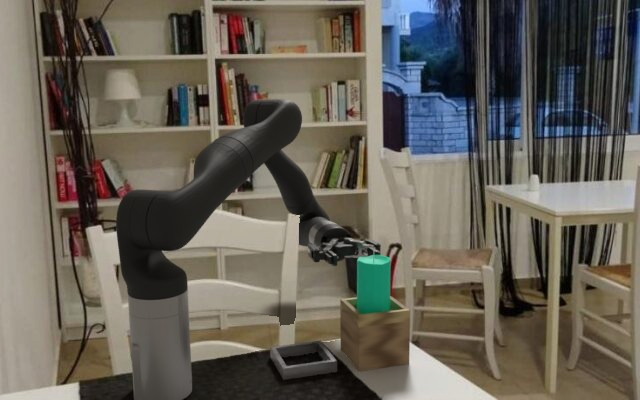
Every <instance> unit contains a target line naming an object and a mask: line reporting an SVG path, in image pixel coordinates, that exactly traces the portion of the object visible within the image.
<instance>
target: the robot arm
mask: <svg viewBox="0 0 640 400" xmlns="http://www.w3.org/2000/svg"><path fill="white" fill-rule="evenodd" d="M242 118H243V119H242V120H243V127H242V128H239V129H235V130H231V131H229V132H227V133H225V134H222V135H220V136H219V137H217V138H215V139H214V140H213V141H212V142H210V143H209V144H208V145H206V146H204V148H203V149H202V150H201V151H200V152H199V153H198V154H197V156H196V158H195V161H194V164H193V179H192V180H191V181H190V182H188V183H187V184H186V185H184V186H182V187H181V188H179V189H176V190H169V191H168V190H158V189H157V190H156V189H133V190H130V191H129V192H127V193H125V195H123V196H122V198H121V200H120V202H119V204H118V207H117V211H116V219H115V222H116V223H115V225H116V226H115V228H116V238H117V239H116V240H117V248H118V254H119V255H118V256H119V263H120V265H119V266H120V272H121V275H122V279H123V281H124V282H125V284H126V289H127V291H126V293H127V303H128V316H129V317H128V320H129V338H130V355H131V356H130V357H131V372H132V386H133V387H132V389H133V400H184V399H186V398H188V397H189V395H191V393H192V391H193V375H192V357H191V354H192V353H191V336H190V335H191V332H190V314H189V313H190V309H189V289H188V288H189V287H188V285H189V284H188V276H187V275H188V274H187V273H186V271H185V270H184V269H183V267H182V268H181V267H180V266H178V265H176V264H175V263H174V262H172V261H171V260H170V259H168V257H167V256H166V255H165V254H164V252H175V251H179V250H181V249H182V248H184V247H185V246H187V245H188V244H189V243H190V242H191V240H193V239H194V237H195V236H196V235H197V234H198V233H199V231H200V230H201V228H202V227H203V226H204V224H205V223H206V222H207V221H208V219H209V218H210V217H211V215H212V214H214V212H215V211H216V210H217V209H218V208H219V207H220V206H221V204H223V203H224V202H225V201H226V200H227V198H229V196H230V195H232V193H234V192H235V191H237V190H238V188H240V187H241V186H242V185H243V184H244V183H245V182H247V180H248V179H249V178H250V177H251V176H252V175H253V174H254V173H255V172H256V171H257V170H258V169H259V168H260V167H261V166H262V165H265V167H266V169H267V170H268V171H269V173H270V174H271V176H272V178H273V180H274V181H275V184H276V185H277V188H278V190H279V193H280V196H281V198H282V200H283V203H284V206H285V208H286V210H287V211H288V212H289V214H291V215H294V216H296V215H300V217H299V218H300V223H299V244H298V246H304V247H307V255H308V257H309V258H310V259H311V260H312V262H314V263H320V262H321V261H323V263H327V264H329V265H331V266H332V267H337V266H338V262H342V261H344V260H346V259H349V258H354V259H358V258H359V257H368V256H371V255H373V251H374V255H382V253H381V247H382V244H381V243H379V242H377V241H375V240H374V239H372V238H368V237H367V238H364V240H357V239H354V238H353V237H352V236H353V235H352V234H351V233H350V232H349V230H347V229H345V228H344V227H342V226H341V225H339V224H338V223H336V222H334V221H331V218H330V216H329V214H328V213H327V212H326V210H324V208H323V207H322V206H321V204H319V202H318V200H317V199H316V197H315V195H314V192H313V190H312V187H311V184H310V181H309V179H308V177H307V175H306V173H305V172H304V170H303V169H302V168H301V167H300V166H299V165H298V164H297V163H296V162H295V161H293V159H291V157H289V156H288V155H287V154H286V153H285V152H284V150H283V149H284V148H286V147H287V146H289V145H290V144H292V143H293V142H294V141H295V140H296V139H297V138H298V136H299V133H300V132H301V128H302V123H303V115H302V111H301V108H300V106H299V105H298V104H297V103H296V102H294V101H293V100H289V99H285V98H272V99H271V98H269V99H268V98H267V99H265V98H264V99H263V98H262V99H254V100H251V101H249V102H248V103H247V105H246V106H245V107H244V111H243V116H242Z"/></svg>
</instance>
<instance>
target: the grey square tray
mask: <svg viewBox="0 0 640 400" xmlns="http://www.w3.org/2000/svg"><path fill="white" fill-rule="evenodd" d="M269 349H270V351H269V353H270V355H269V356H270V359H271V360H272V363H273V362H274V363H273V364H274V366H275V368H276V369H277V371H278V372H279V375H280V376H281V378H282V380H284V381H285V380H292V379H298V378H305V377H312V376H318V374H319V375H325V374H332V373H337V372H338V360H337V359H336V357H334V355H333V354H332V353H331V351H329V349H328V348H327V347H326V346H325V345H324V344H323V342H322V341H321V340H313V341H306V342H299V343H292V344H285V345H283V344H282V345H277V346H270V347H269ZM315 352H318V353H319V354H318V353H317V354H318V356H319V357H320V356H321V357H322V358H323V359H322V358H321V357H320V358H321V359H322V360H320V361H313V362H307V363H299V364H294V365H293V364H292V365H287V364H286V363H285V361H284V359H283V358H282V357H284V358H289V356H291V357H295V356H296V357H297V356H298V357H299V356H304V354H305V355H310V354H309V353H312V354H316V353H315ZM331 372H332V373H331Z"/></svg>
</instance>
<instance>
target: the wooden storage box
mask: <svg viewBox="0 0 640 400" xmlns="http://www.w3.org/2000/svg"><path fill="white" fill-rule="evenodd" d="M339 301H340V307H339V308H340V316H339V317H340V318H339V319H340V328H339V329H340V352H342V354H343V355H344V356H345V357H346V358H347V360H349V361H350V362H351V364H352V365H353V367H355V368H356V369H357V371H359V372H363V371H369V370H370V371H371V370H377V369H383V368H389V367H395V366H402V365H409V364H410V345H411V344H410V340H411V339H410V338H411V337H410V336H411V334H410V333H411V332H410V330H411V310H410V309H409V308H408V307H407V306H405V305H404V304H402V303H401V302H400V301H399V300H397V299H396V298H394V297H393V296H391V295H390V311H385V312H377V313H369V314H361V313H360V312H359V311H358V310H357V296H356V297H348V298H340V300H339Z"/></svg>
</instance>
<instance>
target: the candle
mask: <svg viewBox="0 0 640 400" xmlns="http://www.w3.org/2000/svg"><path fill="white" fill-rule="evenodd" d="M391 260H392V259H391V257H388V256H386V255H383V254H381V255H374V251H373V255H371V256H368V257H359V258H357V260H356V297H357V310H358V311H359V312H360V313H361V314H369V313H377V312H385V311H390V296H391V274H392V273H391V269H392V267H391V265H392V264H391V262H392V261H391Z"/></svg>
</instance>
